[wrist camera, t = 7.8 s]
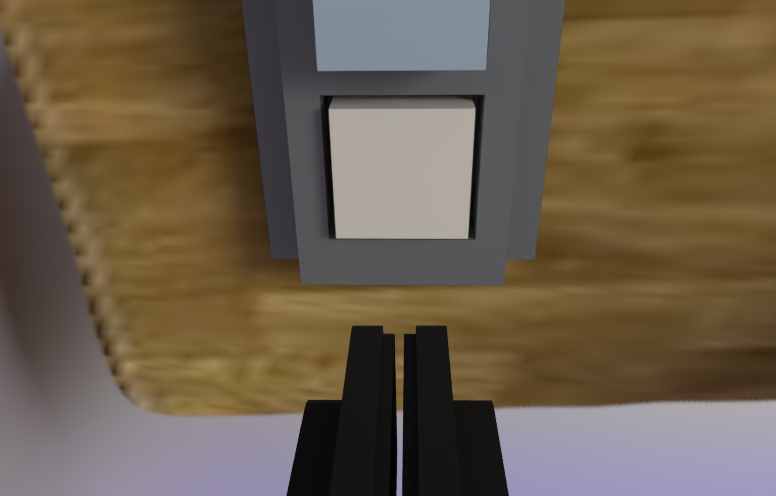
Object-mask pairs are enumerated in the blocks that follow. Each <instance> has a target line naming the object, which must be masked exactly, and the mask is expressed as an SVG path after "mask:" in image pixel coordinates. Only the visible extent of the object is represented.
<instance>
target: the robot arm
mask: <svg viewBox="0 0 776 496" xmlns="http://www.w3.org/2000/svg"><path fill="white" fill-rule="evenodd" d="M396 421H397V416H396V371H395V334H383V326H352V330H351V337H350V345H349V352H348V359H347V367H346V374H345V381H344V388H343V396H342V400H308V401H307V403H306V406H305V409H304V414H303V419H302V424H301V428H300V433H299V438H298V443H297V448H296V452H295V458H294V462H293V467H292V472H291V477H290V482H289V486H288V491H287V496H396V487H397V422H396ZM402 470H403V471H402V472H403V473H402V496H509V494H508V488H507V482H506V477H505V471H504V465H503V459H502V453H501V447H500V441H499V435H498V429H497V423H496V417H495V411H494V406H493V403H492V401H467V400H453V394H452V382H451V371H450V360H449V348H448V337H447V327H446V326H416V334H404V387H403V469H402Z"/></svg>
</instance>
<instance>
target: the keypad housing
mask: <svg viewBox="0 0 776 496" xmlns="http://www.w3.org/2000/svg"><path fill="white" fill-rule="evenodd" d="M241 2H242V11H243V20H244V28H245V37H246V45H247V54H248V62H249V71H250V79H251V88H252V96H253V105H254V113H255V122H256V131H257V139H258V148H259V156H260V165H261V173H262V182H263V190H264V199H265V207H266V216H267V224H268V233H269V241H270V250H271V259H299V266H300V277H301V284H304V285H504V277H505V266H506V260H535V252H536V244H537V235H538V227H539V218H540V210H541V201H542V193H543V184H544V176H545V167H546V159H547V151H548V142H549V134H550V125H551V117H552V108H553V100H554V91H555V83H556V74H557V66H558V58H559V49H560V41H561V32H562V24H563V15H564V7H565V0H490V14H489V29H488V45H487V61H486V70H409V71H317V58H316V42H315V27H314V12H313V0H241ZM334 95H471V97H472V100H473V103H474V106H475V126H474V143H473V160H472V178H471V195H470V213H469V230H468V239H377V238H336V227H335V210H334V193H333V176H332V159H331V141H330V124H329V107H330V104H331V102H332V99H333V96H334Z"/></svg>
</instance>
